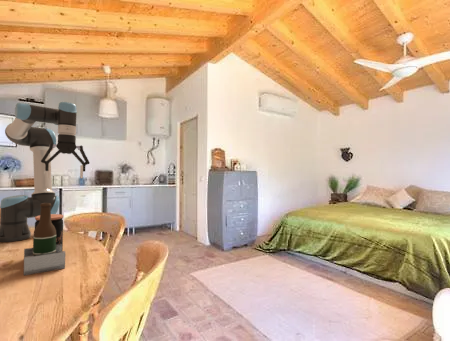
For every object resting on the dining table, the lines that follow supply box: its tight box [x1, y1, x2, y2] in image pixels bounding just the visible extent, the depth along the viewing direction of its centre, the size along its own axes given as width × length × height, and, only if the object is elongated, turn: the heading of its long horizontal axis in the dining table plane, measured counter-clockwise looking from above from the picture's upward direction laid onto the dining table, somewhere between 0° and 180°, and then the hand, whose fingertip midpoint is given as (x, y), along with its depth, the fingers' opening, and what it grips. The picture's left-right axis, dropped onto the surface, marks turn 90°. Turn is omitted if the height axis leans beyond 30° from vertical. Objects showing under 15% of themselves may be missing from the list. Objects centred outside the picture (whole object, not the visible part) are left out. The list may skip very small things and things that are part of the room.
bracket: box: [23, 244, 66, 276], centre depth 105 cm, size 13×13×6 cm
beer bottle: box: [32, 203, 56, 255], centre depth 105 cm, size 8×8×24 cm
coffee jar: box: [34, 213, 64, 251], centre depth 117 cm, size 11×11×18 cm
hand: (65, 178), depth 128 cm, fingers open, 13 cm apart
